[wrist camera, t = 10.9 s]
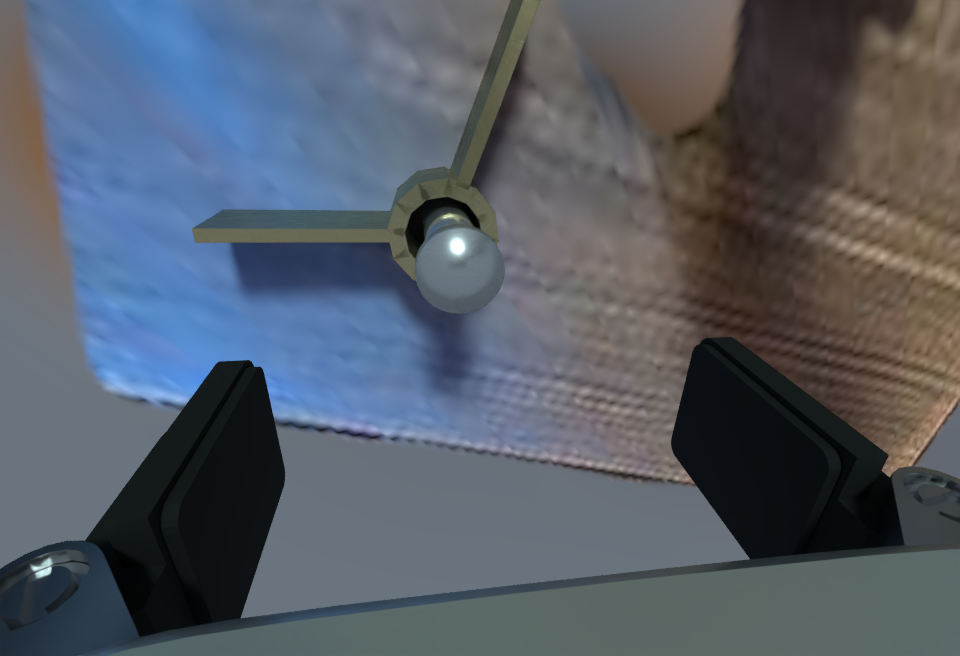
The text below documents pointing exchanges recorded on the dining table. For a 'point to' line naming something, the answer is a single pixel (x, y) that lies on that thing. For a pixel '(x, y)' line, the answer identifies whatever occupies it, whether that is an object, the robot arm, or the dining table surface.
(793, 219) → the dining table surface
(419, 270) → the hinge pin
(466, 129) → the brass hinge
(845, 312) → the dining table surface
